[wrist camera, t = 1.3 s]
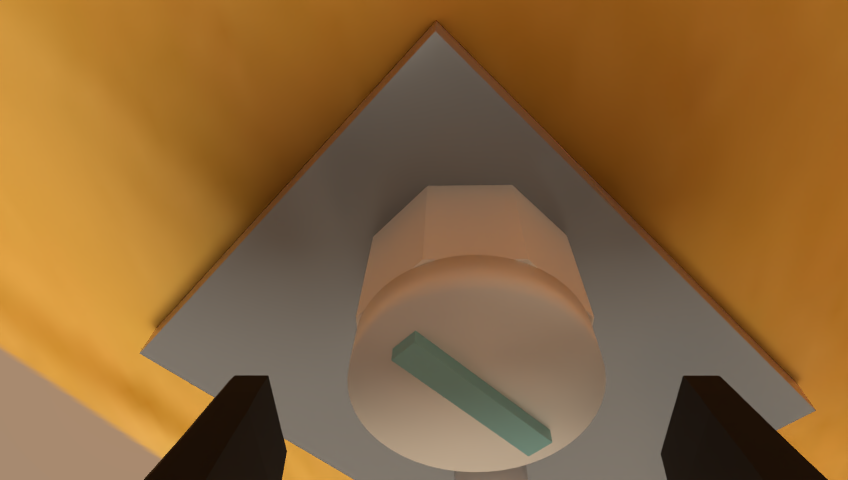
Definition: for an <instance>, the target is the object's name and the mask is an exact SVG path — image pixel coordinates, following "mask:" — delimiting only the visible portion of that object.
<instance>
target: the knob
mask: <svg viewBox="0 0 848 480" xmlns="http://www.w3.org/2000/svg"><path fill="white" fill-rule="evenodd" d="M593 321H594V315H593V312H592V309H591V306H590V303H589V300H588V297H587V294H586V291H585V289H584V286H583V283H582V280H581V277H580V274H579V271H578V268H577V265H576V262H575V259H574V256H573V253H572V250H571V247H570V244H569V241H568V238H567V235H566V234H565V233H564V232H562V231H561V230H560V229H559V228H558V227H557V226H556V225H555V224H554V223H553V222H552V221H551V220H550V219H548V218H547V217H546V216H545V215H544V214H543V213H542V212H541V211H540V210H539V209H538V208H537V207H536V206H535V205H533V204H532V203H531V202H530V201H529V200H528V199H527V198H526V197H525V196H524V195H523V194H522V193H521V192H519V191H518V190H517V189H516V188H515V187H514V186H513V185H452V186H427V187H426V188H425V189H424V190H423V191H421V192H420V193H419V194H418V195H417V196H416V197H415V198H414V199H413V200H412V201H411V202H410V203H409V204H408V205H407V206H405V207H404V208H403V209H402V210H401V211H400V212H399V213H398V214H397V215H396V216H395V217H394V218H393V219H392V220H391V221H389V222H388V223H387V224H386V225H385V226H384V227H383V228H382V229H381V230H380V231H379V232H378V233H377V234H376V235H375V236H373V240H372V244H371V249H370V254H369V258H368V263H367V268H366V272H365V277H364V282H363V286H362V291H361V296H360V300H359V305H358V309H357V314H356V323H357V330H356V335H355V340H354V344H353V349H352V354H351V359H350V364H349V370H348V377H347V381H348V393H349V397H350V401H351V404H352V406H353V409H354V411H355V413H356V415H357V416H358V418H359V420H360V421H361V423H362V424H363V425H364V426H365V428H366V429H367V430H368V431H369V432H370V433H371V434H372V435H373V436H374V437H375V438H376V439H377V440H378V441H379V442H381V443H382V444H384V445H385V446H386V447H388V448H389V449H391V450H393V451H394V452H396V453H398V454H400V455H401V456H403V457H406V458H408V459H410V460H413V461H415V462H418V463H421V464H424V465H427V466H431V467H435V468H440V469H445V470H452V471H460V472H491V471H499V470H506V469H511V468H516V467H520V466H523V465H527V464H530V463H533V462H536V461H538V460H541V459H543V458H546V457H548V456H550V455H552V454H554V453H555V452H557V451H559V450H561V449H562V448H564V447H565V446H567V445H568V444H570V443H571V442H572V441H573V440H574V439H576V438H577V437H578V436H579V435H580V434H581V433H582V432H583V431H584V430H585V429H586V428H587V427H588V426H589V424H590V423H591V421H592V420H593V418H594V417H595V416H596V414H597V412H598V410H599V408H600V406H601V403H602V400H603V396H604V393H605V385H606V374H605V366H604V362H603V359H602V355H601V352H600V349H599V346H598V343H597V340H596V337H595V334H594V331H593Z"/></svg>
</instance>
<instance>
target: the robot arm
mask: <svg viewBox="0 0 848 480" xmlns="http://www.w3.org/2000/svg"><path fill="white" fill-rule="evenodd" d="M286 453H287V450H286V446H285V442H284V438H283V434H282V430H281V425H280V421H279V417H278V413H277V409H276V405H275V401H274V397H273V392H272V388H271V384H270V380H269V376H268V375H235V376H233V377H232V378H231V379H230V380H229V381H228V383H227V384H226V385H225V386H224V387H223V389H222V390H221V391H220V392H219V393H218V394H217V396H216V397H215V398H214V399H213V400H212V402H211V403H210V404H209V405H208V406H207V408H206V409H205V410H204V411H203V412H202V414H201V415H200V416H199V417H198V418H197V419H196V421H195V422H194V423H193V424H192V425H191V427H190V428H189V429H188V430H187V431H186V432H185V434H184V435H183V436H182V437H181V438H180V439H179V441H178V442H177V443H176V444H175V445H174V446H173V447H172V448H171V450H170V451H169V452H168V453H167V454H166V455H165V456H164V457H163V459H162V460H161V461H160V462H159V463H158V464H157V465H156V467H155V468H154V469H153V470H152V471H151V472H150V473H149V474H148V475H147V477H146V478H145V479H144V480H282V475H283V470H284V464H285V458H286ZM661 458H662V462H663V466H664V470H665V474H666V477H667V480H828V479H827V478H825V477H824V476H823V475H822V474H821V473H820V472H819V471H818V470H817V469H816V468H815V467H814V466H813V465H811V464H810V463H809V462H808V461H807V460H806V459H805V458H804V457H803V456H802V455H801V454H800V453H799V452H798V451H797V450H796V449H795V448H794V447H793V446H791V445H790V444H789V443H788V442H787V441H786V440H785V439H784V438H783V437H782V436H781V435H780V434H779V433H778V432H777V431H776V430H775V429H774V428H773V427H772V426H771V425H770V424H769V423H768V422H767V421H766V420H765V419H764V418H763V417H762V416H761V415H760V414H759V413H758V412H756V411H755V410H754V409H753V408H752V407H751V406H750V405H749V404H748V403H747V402H746V401H745V400H744V399H743V398H742V397H741V396H740V395H739V394H738V393H737V392H736V391H735V390H734V389H733V388H732V387H731V386H730V385H729V384H728V383H727V382H726V381H725V380H724V379H723V378H722V377H720V376H683V377H682V381H681V384H680V388H679V391H678V395H677V398H676V402H675V405H674V409H673V412H672V416H671V419H670V422H669V426H668V429H667V433H666V436H665V440H664V443H663V447H662V450H661Z"/></svg>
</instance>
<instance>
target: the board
mask: <svg viewBox="0 0 848 480" xmlns="http://www.w3.org/2000/svg"><path fill="white" fill-rule="evenodd" d="M452 185H513V186H514V187H515V188H516V189H517V190H518V191H519V192H521V193H522V194H523V195H524V196H525V197H526V198H527V199H528V200H529V201H530V202H531V203H532V204H533V205H535V206H536V207H537V208H538V209H539V210H540V211H541V212H542V213H543V214H544V215H545V216H546V217H547V218H548V219H550V220H551V221H552V222H553V223H554V224H555V225H556V226H557V227H558V228H559V229H560V230H561V231H562V232H564V233H565V234H566V235H567V238H568V241H569V244H570V247H571V250H572V253H573V256H574V259H575V262H576V265H577V268H578V271H579V274H580V277H581V280H582V283H583V286H584V289H585V291H586V294H587V297H588V300H589V303H590V306H591V309H592V312H593V315H594V321H593V331H594V334H595V337H596V340H597V343H598V346H599V349H600V352H601V355H602V359H603V362H604V366H605V374H606V385H605V393H604V396H603V400H602V403H601V406H600V408H599V410H598V412H597V414H596V416H595V417H594V418H593V420H592V421H591V423H590V424H589V426H588V427H587V428H586V429H585V430H584V431H583V432H582V433H581V434H580V435H579V436H578V437H577V438H576V439H574V440H573V441H572V442H571V443H570V444H568V445H567V446H565V447H564V448H562V449H561V450H559V451H557V452H555V453H554V454H552V455H550V456H548V457H546V458H543V459H541V460H538V461H536V462H533V463H530V464H527V465H523V466H520V467H516V468H511V469H506V470H499V471H491V472H460V471H452V470H445V469H440V468H435V467H431V466H427V465H424V464H421V463H418V462H415V461H413V460H410V459H408V458H406V457H403V456H401V455H400V454H398V453H396V452H394V451H393V450H391V449H389V448H388V447H386V446H385V445H384V444H382V443H381V442H379V441H378V440H377V439H376V438H375V437H374V436H373V435H372V434H371V433H370V432H369V431H368V430H367V429H366V428H365V426H364V425H363V424H362V423H361V421H360V420H359V418H358V416H357V415H356V413H355V411H354V409H353V406H352V404H351V401H350V397H349V393H348V381H347V377H348V370H349V364H350V359H351V354H352V349H353V344H354V340H355V335H356V330H357V323H356V314H357V309H358V305H359V300H360V296H361V291H362V286H363V282H364V277H365V272H366V268H367V263H368V258H369V254H370V249H371V244H372V240H373V236H375V235H376V234H377V233H378V232H379V231H380V230H381V229H382V228H383V227H384V226H385V225H386V224H387V223H388V222H389V221H391V220H392V219H393V218H394V217H395V216H396V215H397V214H398V213H399V212H400V211H401V210H402V209H403V208H404V207H405V206H407V205H408V204H409V203H410V202H411V201H412V200H413V199H414V198H415V197H416V196H417V195H418V194H419V193H420V192H421V191H423V190H424V189H425V188H426V187H427V186H452ZM140 354H142V355H143V356H145V357H147V358H148V359H150V360H152V361H153V362H155V363H157V364H159V365H160V366H162V367H164V368H165V369H167V370H169V371H170V372H172V373H174V374H176V375H177V376H179V377H181V378H182V379H184V380H186V381H188V382H189V383H191V384H193V385H194V386H196V387H198V388H199V389H201V390H203V391H205V392H206V393H208V394H210V395H211V396H213V397H216V396H217V394H218V393H219V392H220V391H221V390H222V389H223V387H224V386H225V385H226V384H227V383H228V381H229V380H230V379H231V378H232V377H233V376H235V375H268V376H269V380H270V384H271V388H272V392H273V397H274V401H275V405H276V409H277V413H278V417H279V421H280V425H281V430H282V434H283V438H284V439H286V440H288V441H290V442H291V443H293V444H295V445H296V446H298V447H300V448H301V449H303V450H305V451H307V452H308V453H310V454H312V455H313V456H315V457H317V458H318V459H320V460H322V461H324V462H325V463H327V464H329V465H330V466H332V467H334V468H335V469H337V470H339V471H341V472H342V473H344V474H346V475H347V476H349V477H351V478H352V479H354V480H667V477H666V474H665V470H664V466H663V462H662V458H661V450H662V447H663V443H664V440H665V436H666V433H667V429H668V426H669V422H670V419H671V416H672V412H673V409H674V405H675V402H676V398H677V395H678V391H679V388H680V384H681V381H682V377H683V376H720V377H722V378H723V379H724V380H725V381H726V382H727V383H728V384H729V385H730V386H731V387H732V388H733V389H734V390H735V391H736V392H737V393H738V394H739V395H740V396H741V397H742V398H743V399H744V400H745V401H746V402H747V403H748V404H749V405H750V406H751V407H752V408H753V409H754V410H755V411H756V412H758V413H759V414H760V415H761V416H762V417H763V418H764V419H765V420H766V421H767V422H768V423H769V424H770V425H771V426H772V427H773V428H774V429H775V430H778V429H780V428H782V427H784V426H786V425H788V424H790V423H792V422H794V421H796V420H798V419H800V418H802V417H804V416H806V415H808V414H810V413H812V412H814V411H816V410H815V409H814V407H813V406H812V404H811V403H810V401H809V400H808V399H807V397H806V396H805V394H804V393H803V391H802V390H801V388H800V387H799V386H798V384H797V383H796V382H795V381H794V380H793V379H792V378H791V377H790V376H789V375H788V374H787V373H786V372H785V371H784V370H783V369H782V368H781V367H780V366H779V365H778V364H777V363H776V362H775V361H774V360H773V359H772V358H771V357H770V356H769V355H768V354H767V353H766V352H765V351H764V350H763V349H762V348H761V347H760V346H759V345H758V344H757V343H756V342H755V341H754V340H753V339H752V338H751V337H750V336H749V335H748V334H747V333H746V332H745V331H744V330H743V329H742V328H741V327H740V326H739V325H738V324H737V323H736V322H735V321H734V320H733V319H732V318H731V317H730V316H729V315H728V314H727V313H726V312H725V311H724V310H723V309H722V308H721V307H720V306H719V305H718V304H717V303H716V302H715V301H714V300H713V299H712V298H711V297H710V296H709V295H708V294H707V293H706V292H705V291H704V290H703V289H702V288H701V287H700V286H699V285H698V284H697V283H696V282H695V281H694V280H693V279H692V278H691V277H690V276H689V275H688V274H687V273H686V272H685V271H684V270H683V268H682V267H681V266H680V265H679V264H678V263H677V262H676V261H675V260H674V259H673V258H672V257H671V256H670V255H669V254H668V253H667V252H666V251H665V250H664V249H663V248H662V247H661V246H660V245H659V244H658V243H657V242H656V241H655V240H654V239H653V238H652V237H651V236H650V235H649V234H648V233H647V232H646V231H645V230H644V229H643V228H642V227H641V226H640V225H639V224H638V223H637V222H636V221H635V220H634V219H633V218H632V217H631V216H630V215H629V214H628V213H627V212H626V211H625V210H624V209H623V208H622V207H621V206H620V205H619V204H618V203H617V202H616V201H615V200H614V199H613V198H612V197H611V196H610V195H609V194H608V193H607V192H606V191H605V190H604V189H603V188H602V187H601V186H600V185H599V184H598V183H597V182H596V181H595V180H594V179H593V178H592V177H591V176H590V175H589V174H588V173H587V172H586V171H585V170H584V169H583V168H582V167H581V166H580V165H579V164H578V163H577V162H576V161H575V160H574V159H573V158H572V157H571V156H570V155H569V154H568V153H567V152H566V151H565V150H564V149H563V148H562V147H561V146H560V145H559V144H558V143H557V142H556V141H555V140H554V139H553V138H552V137H551V136H550V135H549V134H548V133H547V132H546V131H545V130H544V129H543V128H542V127H541V126H540V125H539V124H538V123H537V122H536V121H535V120H534V119H533V118H532V117H531V115H530V114H529V113H528V112H527V111H526V110H525V109H524V108H523V107H522V106H521V105H520V104H519V103H518V102H517V101H516V100H515V99H514V98H513V97H512V96H511V95H510V94H509V93H508V92H507V91H506V90H505V89H504V88H503V87H502V86H501V85H500V84H499V83H498V82H497V81H496V80H495V79H494V78H493V77H492V76H491V75H490V74H489V73H488V72H487V71H486V70H485V69H484V68H483V67H482V66H481V65H480V64H479V63H478V62H477V61H476V60H475V59H474V58H473V57H472V56H471V55H470V54H469V53H468V52H467V51H466V50H465V49H464V48H463V47H462V46H461V45H460V44H459V43H458V42H457V41H456V40H455V39H454V38H453V37H452V36H451V35H450V34H449V33H448V32H447V31H446V30H445V29H444V28H443V27H442V26H441V25H440V24H439V23H438V22H437V21H436V22H435V23H434V24H433V25H432V26H431V27H430V28H429V29H428V30H427V31H426V33H425V34H424V35H423V36H422V37H421V38H420V39H419V40H418V41H417V42H416V44H415V45H414V46H413V47H412V48H411V49H410V50H409V51H408V52H407V53H406V55H405V56H404V57H403V58H402V59H401V60H400V61H399V62H398V63H397V64H396V66H395V67H394V68H393V69H392V70H391V71H390V72H389V73H388V74H387V75H386V77H385V78H384V79H383V80H382V81H381V82H380V83H379V84H378V85H377V86H376V87H375V89H374V90H373V91H372V92H371V93H370V94H369V95H368V96H367V97H366V98H365V100H364V101H363V102H362V103H361V104H360V105H359V106H358V107H357V108H356V109H355V111H354V112H353V113H352V114H351V115H350V116H349V117H348V118H347V119H346V120H345V122H344V123H343V124H342V125H341V126H340V127H339V128H338V129H337V130H336V131H335V133H334V134H333V135H332V136H331V137H330V138H329V139H328V140H327V141H326V142H325V144H324V145H323V146H322V147H321V148H320V149H319V150H318V151H317V152H316V153H315V155H314V156H313V157H312V158H311V159H310V160H309V161H308V162H307V163H306V164H305V166H304V167H303V168H302V169H301V170H300V171H299V172H298V173H297V174H296V175H295V177H294V178H293V179H292V180H291V181H290V182H289V183H288V184H287V185H286V186H285V188H284V189H283V190H282V191H281V192H280V193H279V194H278V195H277V196H276V197H275V199H274V200H273V201H272V202H271V203H270V204H269V205H268V206H267V207H266V208H265V210H264V211H263V212H262V213H261V214H260V215H259V216H258V217H257V218H256V219H255V221H254V222H253V223H252V224H251V225H250V226H249V227H248V228H247V229H246V230H245V232H244V233H243V234H242V235H241V236H240V237H239V238H238V239H237V240H236V241H235V242H234V244H233V245H232V246H231V247H230V248H229V249H228V250H227V251H226V252H225V253H224V255H223V256H222V257H221V258H220V259H219V260H218V261H217V262H216V263H215V264H214V266H213V267H212V268H211V269H210V270H209V271H208V272H207V273H206V274H205V275H204V277H203V278H202V279H201V280H200V281H199V282H198V283H197V284H196V285H195V286H194V288H193V289H192V290H191V291H190V292H189V293H188V294H187V295H186V296H185V297H184V299H183V300H182V301H181V302H180V303H179V304H178V305H177V306H176V307H175V308H174V310H173V311H172V312H171V313H170V314H169V315H168V316H167V317H166V318H165V319H164V321H163V322H162V323H161V324H160V325H159V326H158V327H157V328H156V329H155V331H154V332H153V334H152V335H151V337H150V338H149V340H148V341H147V343H146V344H145V346H144V347H143V349H142V350H141V352H140Z"/></svg>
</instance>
